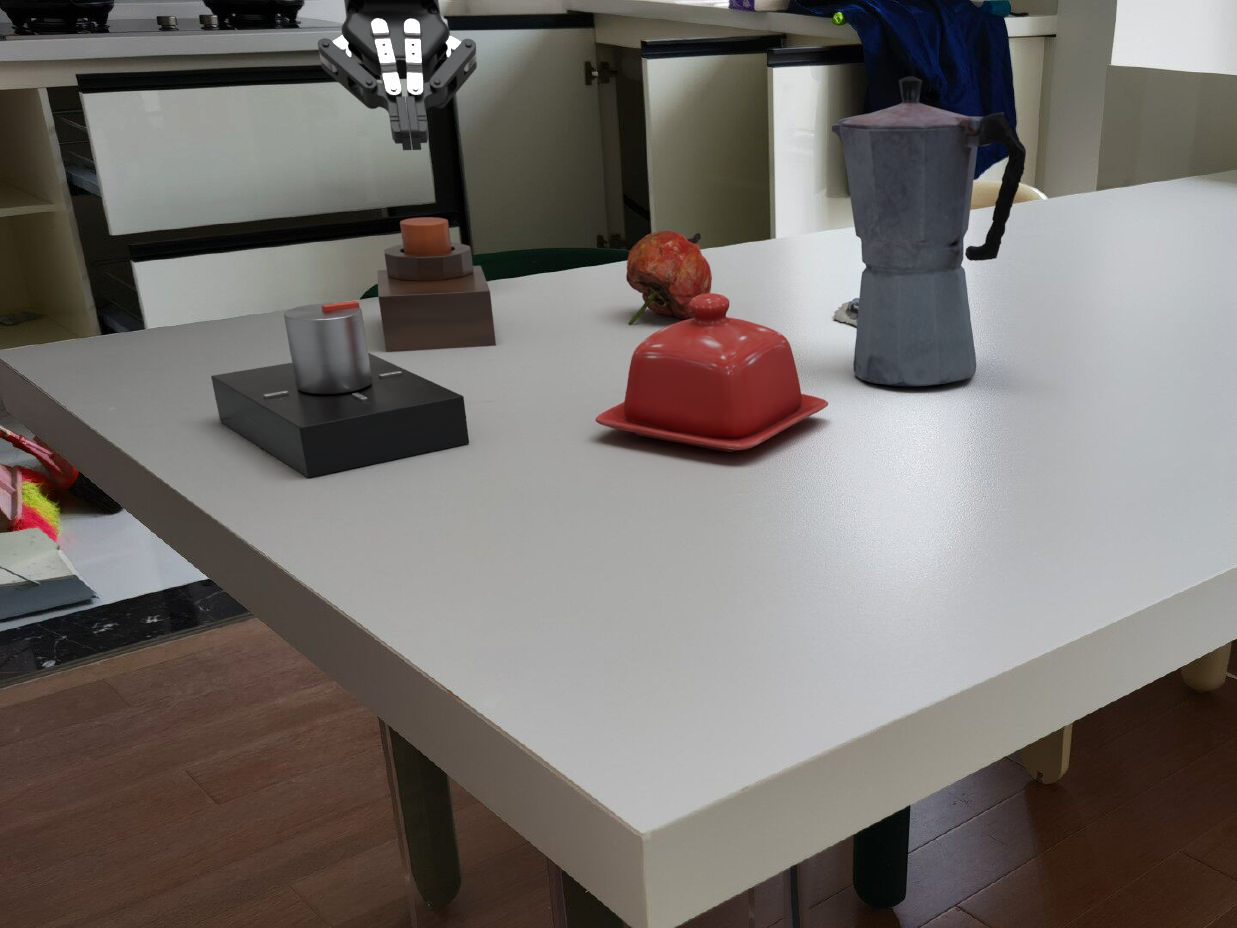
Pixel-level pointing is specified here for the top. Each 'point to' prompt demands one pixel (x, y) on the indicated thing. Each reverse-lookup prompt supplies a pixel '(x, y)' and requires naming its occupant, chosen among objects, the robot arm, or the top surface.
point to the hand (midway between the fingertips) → (411, 143)
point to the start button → (425, 235)
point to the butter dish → (712, 383)
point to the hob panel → (341, 417)
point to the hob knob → (328, 348)
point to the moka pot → (919, 234)
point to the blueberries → (848, 312)
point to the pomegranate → (668, 273)
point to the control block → (434, 301)
